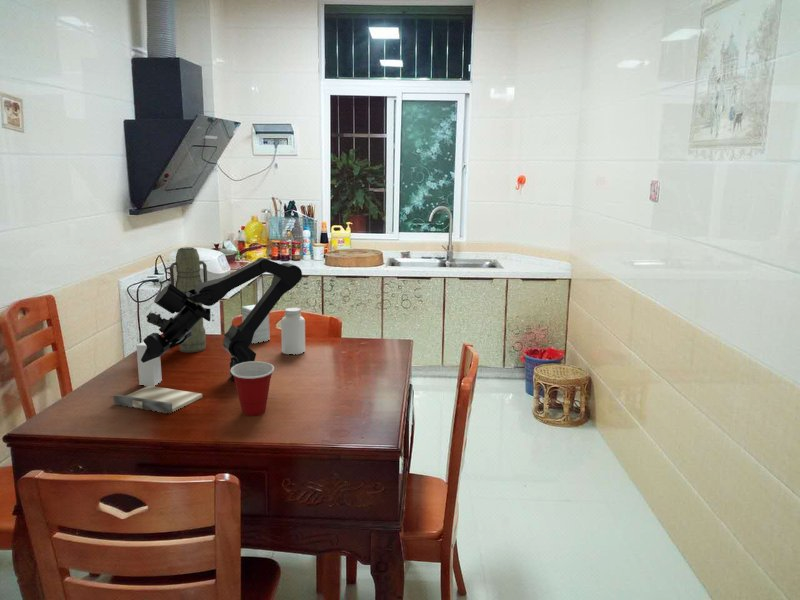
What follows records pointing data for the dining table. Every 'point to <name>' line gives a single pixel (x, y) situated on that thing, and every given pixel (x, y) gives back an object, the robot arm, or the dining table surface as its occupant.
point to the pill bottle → (293, 332)
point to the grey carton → (148, 368)
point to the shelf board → (157, 399)
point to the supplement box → (262, 330)
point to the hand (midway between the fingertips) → (150, 356)
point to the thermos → (186, 281)
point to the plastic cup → (252, 385)
